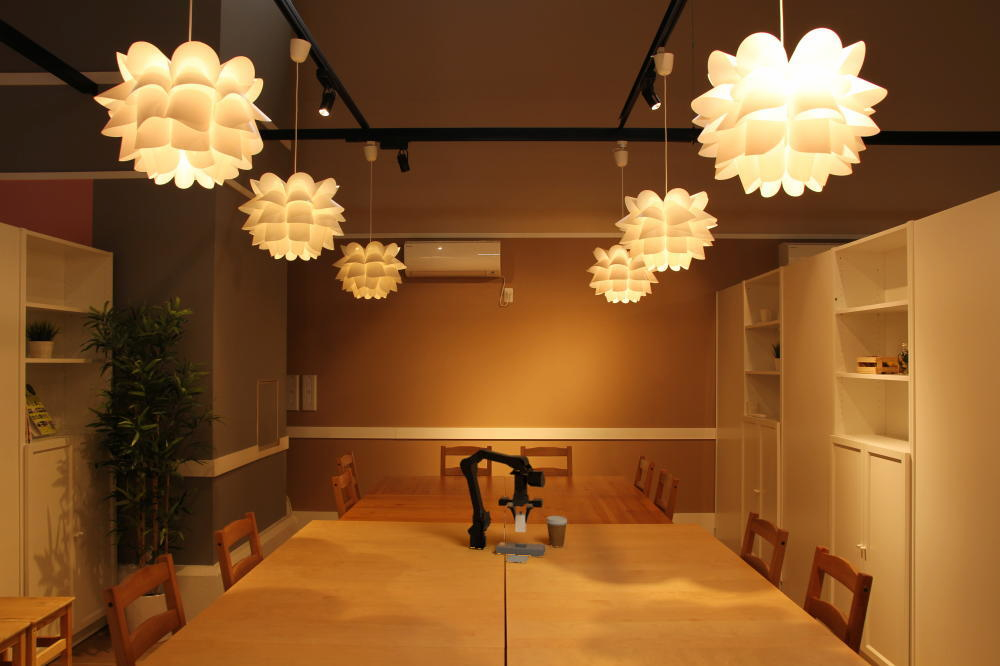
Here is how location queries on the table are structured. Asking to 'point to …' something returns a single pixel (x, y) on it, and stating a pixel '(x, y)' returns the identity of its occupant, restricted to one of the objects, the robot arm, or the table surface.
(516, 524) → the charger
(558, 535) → the disposable coffee cup
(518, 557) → the grey square plate
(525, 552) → the grey flat block
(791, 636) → the table surface
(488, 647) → the table surface
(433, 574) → the table surface
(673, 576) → the table surface
